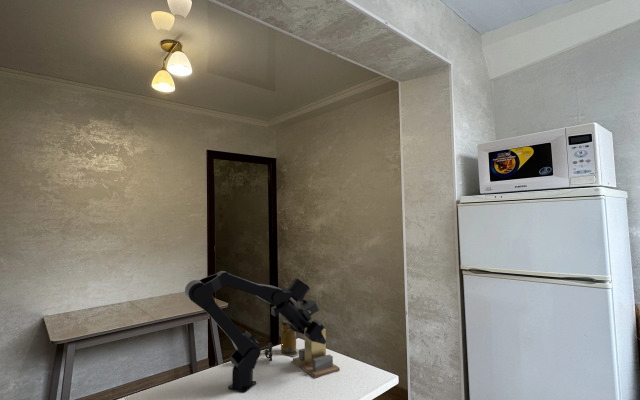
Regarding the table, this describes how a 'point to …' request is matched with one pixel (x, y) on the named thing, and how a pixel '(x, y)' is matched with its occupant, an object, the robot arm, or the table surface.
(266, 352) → the valve
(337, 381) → the table surface
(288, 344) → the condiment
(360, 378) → the table surface
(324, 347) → the brass block
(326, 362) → the vise
